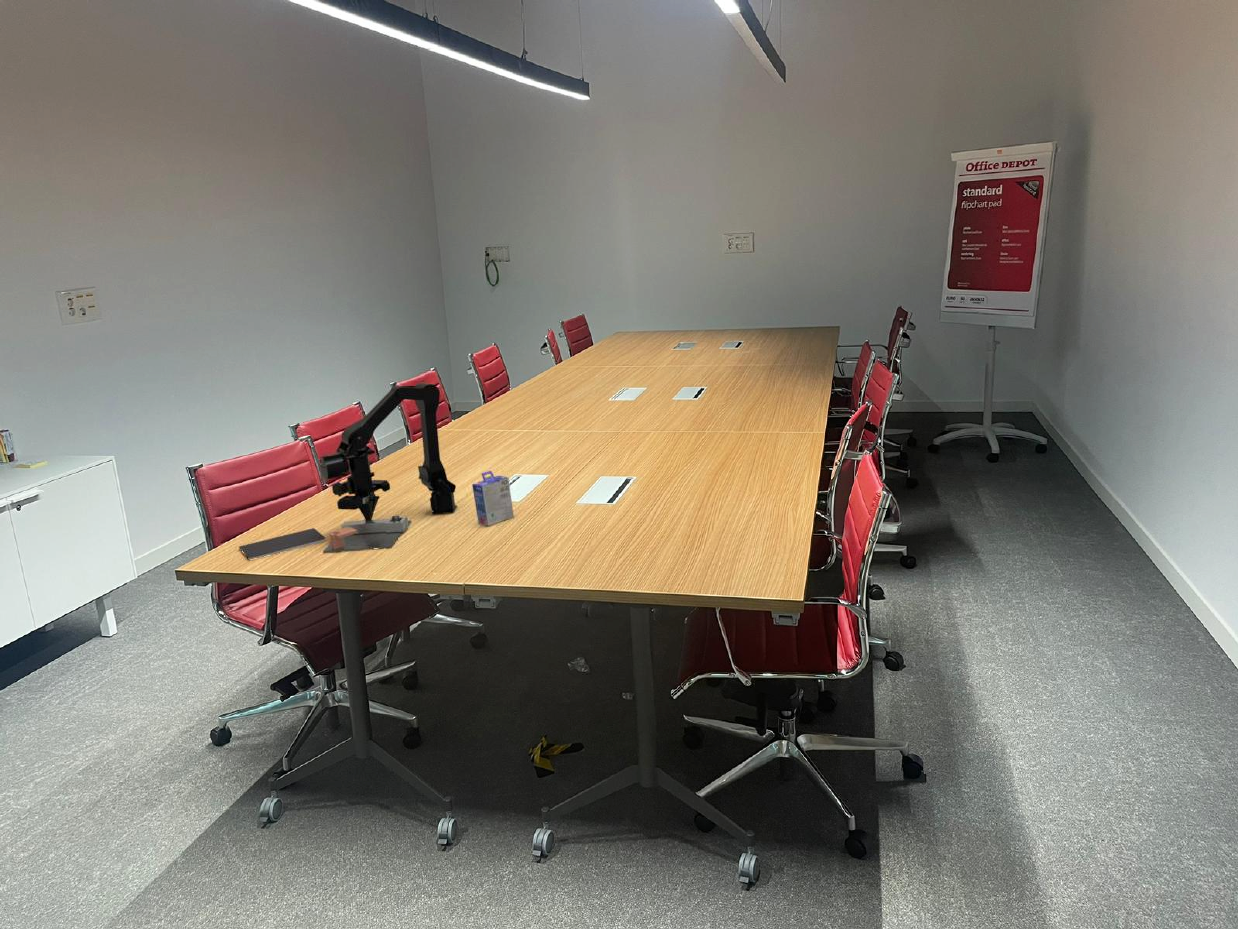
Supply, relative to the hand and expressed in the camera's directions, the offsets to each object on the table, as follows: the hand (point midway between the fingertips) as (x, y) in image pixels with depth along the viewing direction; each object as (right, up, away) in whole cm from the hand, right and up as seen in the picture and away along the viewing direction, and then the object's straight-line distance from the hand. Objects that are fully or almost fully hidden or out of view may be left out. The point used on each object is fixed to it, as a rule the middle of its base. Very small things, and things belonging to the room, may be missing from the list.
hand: (368, 522), depth 263 cm
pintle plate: (+1, -4, -5) cm, 6 cm away
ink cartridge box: (+37, 0, 0) cm, 37 cm away
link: (+3, -2, -2) cm, 4 cm away
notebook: (-23, -7, -5) cm, 25 cm away
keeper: (-3, -6, -12) cm, 14 cm away
